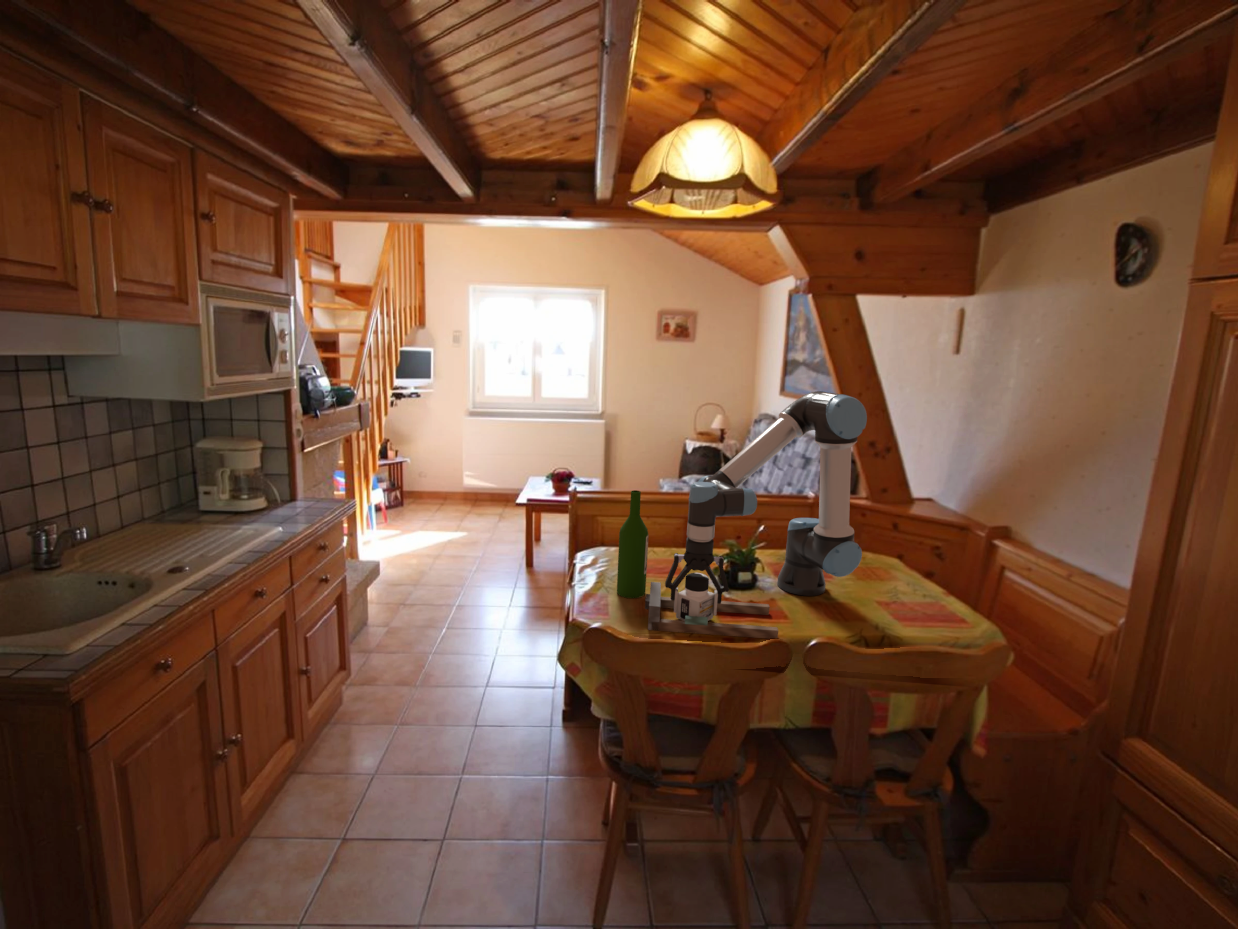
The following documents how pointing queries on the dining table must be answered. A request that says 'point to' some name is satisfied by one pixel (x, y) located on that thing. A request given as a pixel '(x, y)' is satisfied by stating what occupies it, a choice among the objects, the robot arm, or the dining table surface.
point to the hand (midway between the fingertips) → (694, 612)
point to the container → (695, 598)
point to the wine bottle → (632, 552)
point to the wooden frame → (701, 623)
